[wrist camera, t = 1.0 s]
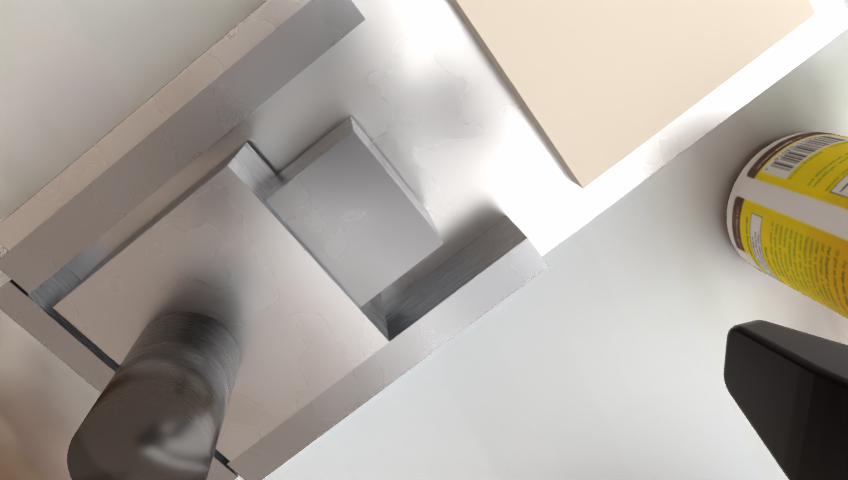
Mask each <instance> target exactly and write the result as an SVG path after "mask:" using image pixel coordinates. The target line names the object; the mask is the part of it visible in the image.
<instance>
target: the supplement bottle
mask: <svg viewBox="0 0 848 480" xmlns="http://www.w3.org/2000/svg"><path fill="white" fill-rule="evenodd" d="M727 227H728V232H729V236H730V239H731V242H732V244H733V246H734V247H735V249H736V250H737V252H738V253H739V255H740V256H741V257H742V258H743V259H744V260H745V261H747V262H748V263H749V264H750V265H752V266H754V267H755V268H757V269H758V270H760V271H762V272H764V273H765V274H768V275H769V276H771V277H773V278H775V279H777V280H779V281H780V282H782V283H784V284H786V285H788V286H789V287H791V288H793V289H795V290H797V291H799V292H801V293H802V294H804V295H806V296H808V297H810V298H812V299H813V300H815V301H817V302H819V303H820V304H822V305H824V306H826V307H828V308H830V309H831V310H833V311H835V312H837V313H839V314H840V315H842V316H844V317H846V318H848V137H845V136H840V135H835V134H830V133H821V132H804V133H797V134H793V135H790V136H787V137H784V138H781V139H779V140H777V141H775V142H773V143H771V144H770V145H768V146H767V147H765V148H764V149H762V150H761V151H760V152H759V153H758V154H757V155H755V156H754V157H753V158H752V159H751V160H750V162H749V163H748V164H747V165H746V166H745V167H744V169H743V170H742V172H741V173H740V175H739V176H738V178H737V180H736V182H735V184H734V186H733V188H732V191H731V194H730V197H729V201H728V206H727Z"/></svg>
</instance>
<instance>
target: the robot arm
mask: <svg viewBox="0 0 848 480" xmlns="http://www.w3.org/2000/svg"><path fill="white" fill-rule="evenodd" d="M724 380H725V384H726V387H727V389H728V391H729V393H730V394H731V396H732V397H733V399H734V400H735V402H736V403H737V405H738V406H739V408H740V409H741V410H742V412H743V413H744V415H745V416H746V418H747V419H748V421H749V422H750V424H751V425H752V427H753V428H754V429H755V431H756V432H757V434H758V435H759V437H760V438H761V440H762V441H763V443H764V444H765V446H766V447H767V448H768V450H769V451H770V453H771V454H772V456H773V457H774V459H775V460H776V462H777V463H778V465H779V466H780V468H781V469H782V470H783V472H784V473H785V475H786V476H787V477H788V479H789V480H848V345H845V344H841V343H838V342H835V341H831V340H828V339H824V338H821V337H818V336H814V335H811V334H808V333H804V332H801V331H797V330H794V329H791V328H787V327H784V326H780V325H777V324H774V323H770V322H767V321H763V320H755V321H751V322H747V323H743V324H738V325H735V326H733V327H732V328H731V329H730V330H729V332H728V335H727V344H726V354H725V365H724Z"/></svg>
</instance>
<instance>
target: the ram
mask: <svg viewBox="0 0 848 480" xmlns="http://www.w3.org/2000/svg"><path fill="white" fill-rule="evenodd" d="M443 244H444V242H443V240H442V238H441V236H440V234H439V232H438V230H437V228H436V226H435V224H434V222H433V220H432V218H431V216H430V215H429V213H428V212H427V210H426V209H425V208H424V207H423V205H422V204H421V203H420V202H419V200H418V199H417V198H416V197H415V195H414V194H413V193H412V192H411V190H410V189H409V188H408V187H407V185H406V184H405V183H404V182H403V180H402V179H401V178H400V177H399V175H398V174H397V173H396V172H395V170H394V169H393V168H392V167H391V165H390V164H389V163H388V162H387V160H386V159H385V158H384V157H383V155H382V154H381V153H380V152H379V150H378V149H377V148H376V147H375V145H374V144H373V143H372V142H371V140H370V139H369V138H368V137H367V135H366V134H365V133H364V132H363V130H362V129H361V128H360V127H359V125H358V124H357V123H356V122H355V120H354V119H353V118H352V117H351V116H350V117H349V118H347V119H346V120H345V121H344V122H342V123H341V124H340V125H339V126H337V127H336V128H335V129H334V130H332V131H331V132H330V133H329V134H327V135H326V136H325V137H324V138H322V139H321V140H320V141H319V142H317V143H316V144H315V145H314V146H312V147H311V148H310V149H309V150H307V151H306V152H305V153H304V154H303V155H301V156H300V157H299V158H298V159H296V160H295V161H294V162H293V163H291V164H290V165H289V166H288V167H286V168H285V169H284V170H283V171H281V172H280V173H279V174H278V175H276V174H275V173H274V172H273V171H272V170H271V169H270V168H269V167H268V165H267V164H266V163H265V162H264V161H263V160H262V159H261V158H260V156H259V155H258V154H257V153H256V152H255V151H254V150H253V148H252V147H251V146H250V145H249V144H248V143H245V144H244V145H243V146H242V147H240V148H239V149H238V150H237V151H236V152H234V153H233V154H232V155H231V156H229V157H228V158H227V159H226V160H224V161H223V162H222V163H221V164H220V165H218V166H217V167H216V168H215V169H213V170H212V171H211V172H210V173H208V174H207V175H206V176H205V177H204V178H202V179H201V180H200V181H199V182H197V183H196V184H195V185H194V186H192V187H191V188H190V189H189V190H188V191H186V192H185V193H184V194H183V195H181V196H180V197H179V198H178V199H176V200H175V201H174V202H173V203H172V204H170V205H169V206H168V207H167V208H165V209H164V210H163V211H162V212H160V213H159V214H158V215H157V216H156V217H154V218H153V219H152V220H151V221H149V222H148V223H147V224H146V225H144V226H143V227H142V228H141V229H140V230H138V231H137V232H136V233H135V234H133V235H132V236H131V237H130V238H129V239H127V240H126V241H125V242H124V243H122V244H121V245H120V246H119V247H117V248H116V249H115V250H114V251H113V252H111V253H110V254H109V255H108V256H106V257H105V258H104V259H103V260H101V261H100V262H99V263H98V264H97V265H96V266H95V267H94V268H93V269H92V270H91V271H90V272H89V273H88V274H87V275H86V276H85V277H84V278H83V279H82V280H81V281H80V282H79V283H78V284H76V285H75V286H74V287H73V288H72V289H71V290H70V291H69V292H68V293H67V294H66V295H65V296H64V297H63V298H62V299H61V300H60V301H59V302H58V303H57V304H56V305H55V306H54V307H53V308H54V309H55V310H56V311H57V312H58V313H60V314H61V315H62V316H63V317H64V318H65V319H67V320H68V321H69V322H70V323H71V324H72V325H73V326H75V327H76V328H77V329H78V330H79V331H80V332H82V333H83V334H84V335H85V336H86V337H87V338H88V339H90V340H91V341H92V342H93V343H94V344H95V345H97V346H98V347H99V348H100V349H101V350H102V351H103V352H105V353H106V354H107V355H108V356H109V357H110V358H112V359H113V360H114V361H115V362H116V363H117V364H118V365H120V366H119V367H118V369H117V370H116V372H115V374H114V375H113V377H112V378H111V380H110V381H109V383H108V384H107V386H106V387H105V389H104V390H103V392H102V393H101V395H100V396H99V398H98V399H97V401H96V403H95V404H94V406H93V407H92V409H91V410H90V412H89V413H88V415H87V416H86V418H85V419H84V421H83V422H82V424H81V425H80V427H79V429H78V430H77V432H76V433H75V435H74V437H73V438H72V440H71V443H70V445H69V449H68V455H67V463H68V469H69V473H70V476H71V478H72V480H206V479H207V476H208V473H209V470H210V466H211V463H212V459H213V456H214V452H215V449H217V450H218V451H219V452H220V453H221V454H222V455H224V456H225V457H226V458H227V459H228V460H229V461H232V460H234V459H235V458H236V457H238V456H239V455H240V454H242V453H243V452H244V451H246V450H247V449H248V448H250V447H251V446H252V445H253V444H255V443H256V442H257V441H259V440H260V439H261V438H263V437H264V436H265V435H267V434H268V433H269V432H271V431H272V430H273V429H275V428H276V427H277V426H279V425H280V424H281V423H283V422H284V421H285V420H287V419H288V418H289V417H291V416H292V415H293V414H295V413H296V412H297V411H299V410H300V409H301V408H303V407H304V406H305V405H307V404H308V403H309V402H311V401H312V400H313V399H315V398H316V397H317V396H319V395H320V394H321V393H323V392H324V391H325V390H327V389H328V388H329V387H331V386H332V385H333V384H335V383H336V382H337V381H338V380H340V379H341V378H342V377H344V376H345V375H346V374H348V373H349V372H350V371H352V370H353V369H354V368H356V367H357V366H358V365H360V364H361V363H362V362H364V361H365V360H366V359H368V358H369V357H370V356H372V355H373V354H374V353H376V352H377V351H378V350H380V349H381V348H382V347H384V346H385V345H386V344H388V343H389V336H388V330H387V325H386V319H385V313H384V307H383V301H382V296H381V293H380V292H381V291H382V290H384V289H385V288H386V287H388V286H389V285H390V284H392V283H393V282H394V281H395V280H397V279H398V278H399V277H401V276H402V275H403V274H405V273H406V272H407V271H409V270H410V269H411V268H412V267H414V266H415V265H416V264H418V263H419V262H420V261H422V260H423V259H424V258H426V257H427V256H428V255H429V254H431V253H432V252H433V251H435V250H436V249H437V248H439V247H440V246H441V245H443Z"/></svg>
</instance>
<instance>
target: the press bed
mask: <svg viewBox="0 0 848 480" xmlns="http://www.w3.org/2000/svg"><path fill="white" fill-rule="evenodd" d="M451 2H452V3H453V5H454V6H455V8H456V9H457V11H458V12H459V14H460V15H461V17H462V18H463V20H464V21H465V23H466V24H467V25H468V27H469V28H470V30H471V31H472V33H473V34H474V36H475V37H476V39H477V40H478V42H479V43H480V45H481V46H482V48H483V49H484V51H485V52H486V53H487V55H488V56H489V58H490V59H491V61H492V62H493V64H494V65H495V67H496V68H497V70H498V71H499V73H500V74H501V76H502V77H503V78H504V80H505V81H506V83H507V84H508V86H509V87H510V89H511V90H512V92H513V93H514V95H515V96H516V98H517V99H518V101H519V102H520V104H521V105H522V106H523V108H524V109H525V111H526V112H527V114H528V115H529V117H530V118H531V120H532V121H533V123H534V124H535V126H536V127H537V129H538V130H539V132H540V133H541V134H542V136H543V137H544V139H545V140H546V142H547V143H548V145H549V146H550V148H551V149H552V151H553V152H554V154H555V155H556V157H557V158H558V160H559V161H560V162H561V164H562V165H563V167H564V168H565V170H566V171H567V173H568V174H569V176H570V177H571V179H572V180H573V182H574V183H575V184H577V185H578V186H580V187H581V188H583V189H584V188H585V187H587V186H588V185H589V184H590V183H592V182H593V181H594V180H596V179H597V178H598V177H600V176H601V175H602V174H604V173H605V172H606V171H608V170H609V169H610V168H612V167H613V166H614V165H616V164H617V163H618V162H620V161H621V160H622V159H624V158H625V157H626V156H628V155H629V154H630V153H632V152H633V151H634V150H636V149H637V148H638V147H640V146H641V145H642V144H644V143H645V142H646V141H648V140H649V139H650V138H651V137H653V136H654V135H655V134H657V133H658V132H659V131H661V130H662V129H663V128H665V127H666V126H667V125H669V124H670V123H671V122H673V121H674V120H675V119H677V118H678V117H679V116H681V115H682V114H683V113H685V112H686V111H687V110H689V109H690V108H691V107H693V106H694V105H695V104H697V103H698V102H699V101H701V100H702V99H703V98H705V97H706V96H707V95H708V94H710V93H711V92H712V91H714V90H715V89H716V88H718V87H719V86H720V85H722V84H723V83H724V82H726V81H727V80H728V79H730V78H731V77H732V76H734V75H735V74H736V73H738V72H739V71H740V70H742V69H743V68H744V67H746V66H747V65H748V64H750V63H751V62H752V61H754V60H755V59H756V58H758V57H759V56H760V55H762V54H763V53H764V52H766V51H767V50H768V49H769V48H771V47H772V46H773V45H775V44H776V43H777V42H779V41H780V40H781V39H783V38H784V37H785V36H787V35H788V34H789V33H791V32H792V31H793V30H795V29H796V28H797V27H799V26H800V25H801V24H803V23H804V22H805V21H807V20H808V19H809V18H811V17H812V16H813V15H815V14H816V13H815V11H814V9H813V7H812V5H811V2H810V0H451Z"/></svg>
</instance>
